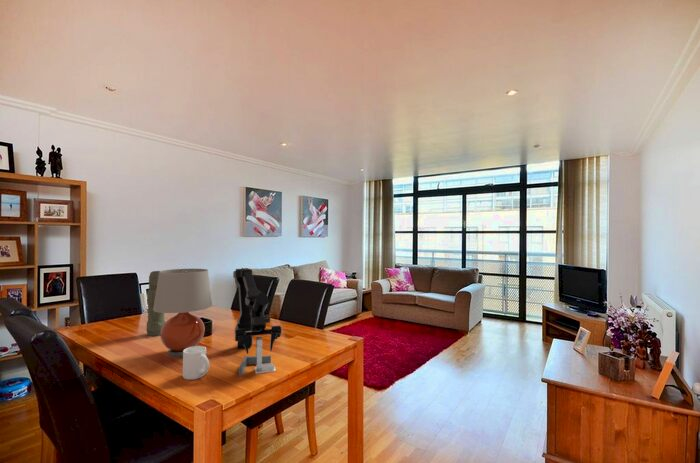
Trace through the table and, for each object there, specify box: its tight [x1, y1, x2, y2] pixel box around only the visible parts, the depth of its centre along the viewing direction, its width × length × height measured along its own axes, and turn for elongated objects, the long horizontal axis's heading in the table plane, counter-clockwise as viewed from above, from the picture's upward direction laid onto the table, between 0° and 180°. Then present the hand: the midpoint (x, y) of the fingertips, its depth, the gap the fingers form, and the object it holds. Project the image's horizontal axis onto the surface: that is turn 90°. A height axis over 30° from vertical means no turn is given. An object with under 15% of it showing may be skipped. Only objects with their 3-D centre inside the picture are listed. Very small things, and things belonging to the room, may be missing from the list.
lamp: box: [153, 268, 213, 359], centre depth 155 cm, size 25×25×39 cm
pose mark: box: [254, 365, 277, 375], centre depth 136 cm, size 8×6×1 cm
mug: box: [182, 345, 210, 381], centre depth 129 cm, size 12×8×10 cm
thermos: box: [146, 270, 166, 338], centre depth 183 cm, size 9×12×35 cm
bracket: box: [255, 336, 275, 372], centre depth 136 cm, size 7×4×13 cm, turn 111°
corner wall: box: [238, 354, 272, 377], centre depth 137 cm, size 11×13×3 cm
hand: (259, 352), depth 134 cm, fingers open, 9 cm apart
